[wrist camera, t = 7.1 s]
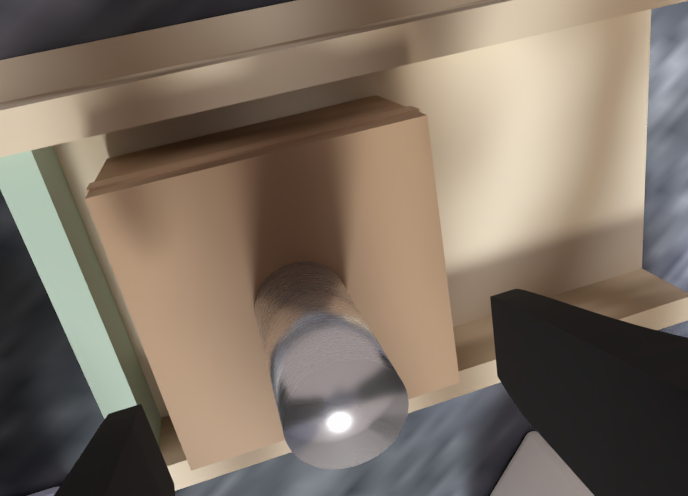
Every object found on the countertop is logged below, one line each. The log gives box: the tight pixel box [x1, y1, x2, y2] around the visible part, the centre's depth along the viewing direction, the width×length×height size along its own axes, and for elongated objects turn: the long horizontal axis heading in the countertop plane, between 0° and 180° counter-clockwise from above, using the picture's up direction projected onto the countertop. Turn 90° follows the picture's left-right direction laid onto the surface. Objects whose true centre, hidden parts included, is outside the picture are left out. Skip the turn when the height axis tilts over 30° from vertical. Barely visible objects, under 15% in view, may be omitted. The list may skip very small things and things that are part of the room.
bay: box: [0, 0, 688, 491], centre depth 18 cm, size 20×14×4 cm
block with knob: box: [85, 95, 460, 471], centre depth 14 cm, size 8×8×9 cm
